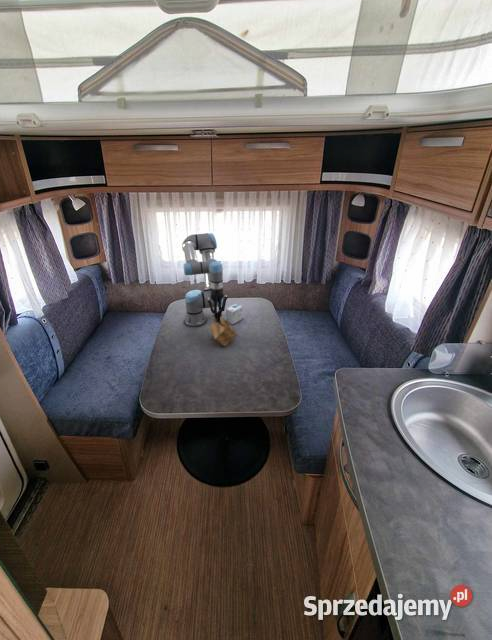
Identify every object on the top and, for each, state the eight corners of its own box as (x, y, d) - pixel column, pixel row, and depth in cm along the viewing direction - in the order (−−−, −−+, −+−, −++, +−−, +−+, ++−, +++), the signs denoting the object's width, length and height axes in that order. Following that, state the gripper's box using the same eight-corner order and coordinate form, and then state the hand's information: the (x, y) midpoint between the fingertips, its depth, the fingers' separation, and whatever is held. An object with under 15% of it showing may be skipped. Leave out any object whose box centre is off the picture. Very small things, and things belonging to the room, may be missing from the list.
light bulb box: (236, 315, 214) (235, 303, 209) (242, 318, 209) (242, 306, 205) (226, 321, 207) (225, 308, 202) (232, 324, 202) (232, 311, 198)
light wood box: (224, 346, 180) (207, 333, 171) (218, 335, 191) (201, 322, 183) (237, 335, 180) (220, 320, 171) (229, 324, 191) (213, 310, 182)
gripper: (207, 291, 164) (209, 326, 173) (229, 288, 168) (230, 322, 177) (204, 286, 171) (206, 320, 180) (225, 283, 174) (226, 316, 184)
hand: (218, 321), depth 179 cm, fingers closed
